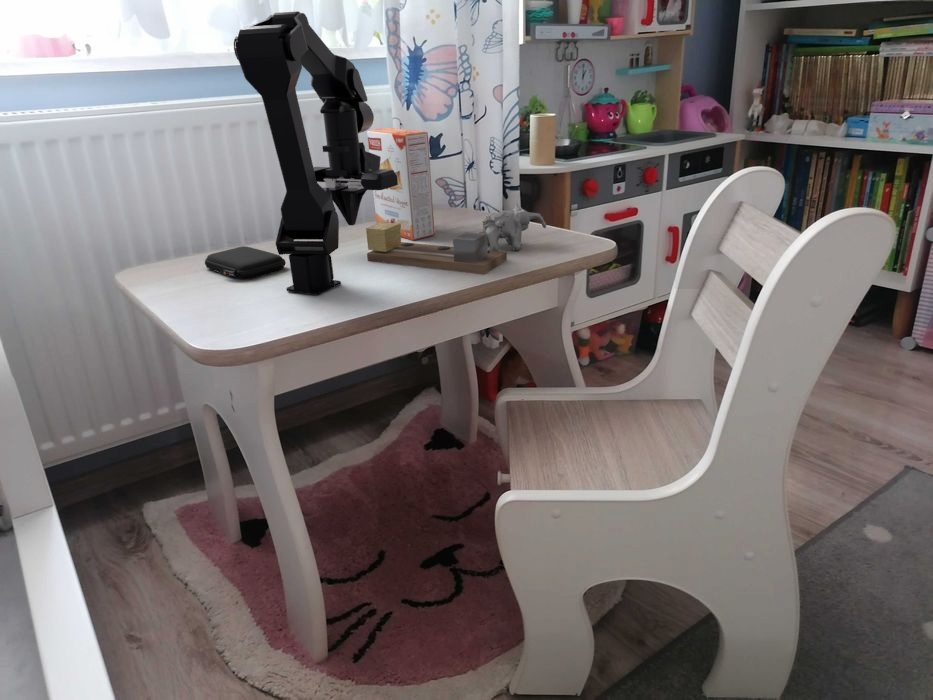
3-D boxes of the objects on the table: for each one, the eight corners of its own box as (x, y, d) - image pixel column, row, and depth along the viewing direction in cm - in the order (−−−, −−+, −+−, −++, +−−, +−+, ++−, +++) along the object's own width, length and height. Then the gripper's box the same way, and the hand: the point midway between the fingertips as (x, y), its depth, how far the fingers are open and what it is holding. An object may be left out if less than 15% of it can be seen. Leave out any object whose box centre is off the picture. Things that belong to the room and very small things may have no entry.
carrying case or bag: (196, 271, 127) (238, 285, 118) (193, 255, 126) (235, 268, 117) (247, 258, 134) (291, 270, 125) (245, 243, 133) (288, 254, 124)
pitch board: (484, 274, 117) (483, 242, 114) (367, 261, 127) (364, 231, 125) (506, 260, 124) (506, 229, 122) (394, 248, 135) (392, 220, 132)
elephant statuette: (474, 248, 134) (471, 209, 130) (526, 235, 139) (524, 197, 135) (499, 259, 126) (496, 218, 123) (553, 245, 131) (551, 205, 128)
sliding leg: (386, 252, 125) (384, 229, 124) (368, 250, 127) (366, 228, 125) (408, 242, 131) (406, 220, 130) (390, 240, 133) (389, 219, 131)
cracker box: (375, 230, 149) (365, 129, 141) (398, 225, 153) (390, 126, 145) (411, 241, 139) (403, 133, 131) (435, 236, 143) (429, 130, 134)
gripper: (410, 133, 126) (416, 219, 132) (329, 132, 134) (338, 213, 140) (375, 141, 117) (384, 232, 123) (290, 139, 125) (302, 225, 131)
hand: (351, 224), depth 130 cm, fingers closed
